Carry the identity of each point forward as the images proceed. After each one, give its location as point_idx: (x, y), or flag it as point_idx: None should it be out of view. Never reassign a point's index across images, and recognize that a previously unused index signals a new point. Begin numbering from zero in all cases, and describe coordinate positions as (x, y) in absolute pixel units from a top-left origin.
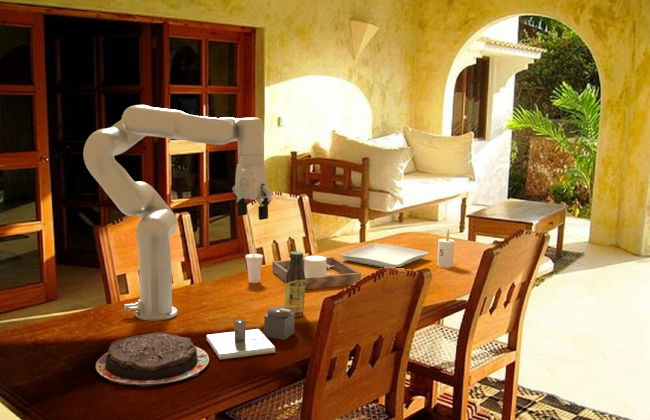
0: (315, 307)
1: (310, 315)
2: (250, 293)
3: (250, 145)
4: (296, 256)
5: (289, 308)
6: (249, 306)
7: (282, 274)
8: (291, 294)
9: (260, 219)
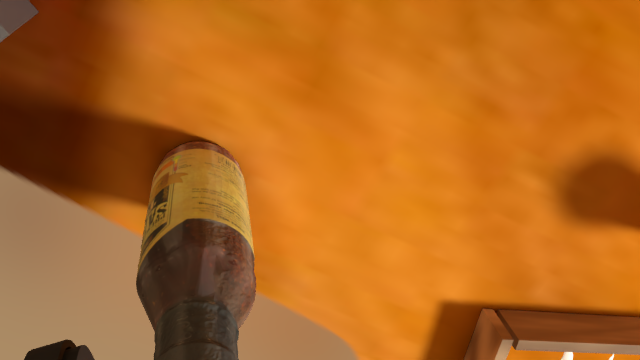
0: None
1: None
2: (562, 140)
3: None
4: None
5: None
6: (408, 57)
7: (636, 330)
8: (159, 203)
9: (32, 355)
